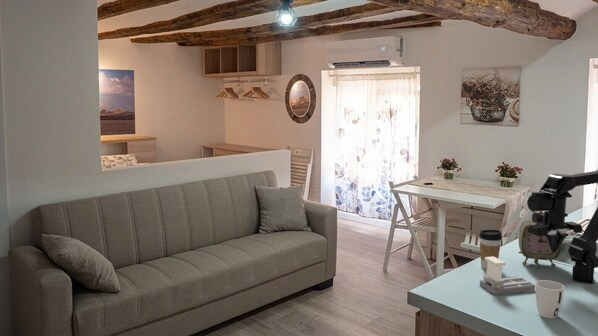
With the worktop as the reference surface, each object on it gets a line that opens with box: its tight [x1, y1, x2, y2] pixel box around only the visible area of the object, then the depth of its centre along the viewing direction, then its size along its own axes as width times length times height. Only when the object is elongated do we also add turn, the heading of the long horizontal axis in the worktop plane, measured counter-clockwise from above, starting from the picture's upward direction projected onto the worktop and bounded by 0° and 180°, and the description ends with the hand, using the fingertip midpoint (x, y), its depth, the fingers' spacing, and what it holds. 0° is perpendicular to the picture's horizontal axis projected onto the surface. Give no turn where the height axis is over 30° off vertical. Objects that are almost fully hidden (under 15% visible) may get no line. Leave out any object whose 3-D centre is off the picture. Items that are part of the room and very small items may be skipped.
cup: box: [534, 279, 565, 319], centre depth 164 cm, size 8×8×10 cm
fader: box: [483, 256, 506, 285], centre depth 184 cm, size 4×7×8 cm, turn 14°
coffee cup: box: [478, 229, 503, 271], centre depth 207 cm, size 8×8×15 cm
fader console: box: [479, 276, 536, 296], centre depth 186 cm, size 16×9×3 cm, turn 104°
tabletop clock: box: [518, 211, 562, 268], centre depth 209 cm, size 14×9×25 cm, turn 77°
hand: (553, 251), depth 189 cm, fingers closed
